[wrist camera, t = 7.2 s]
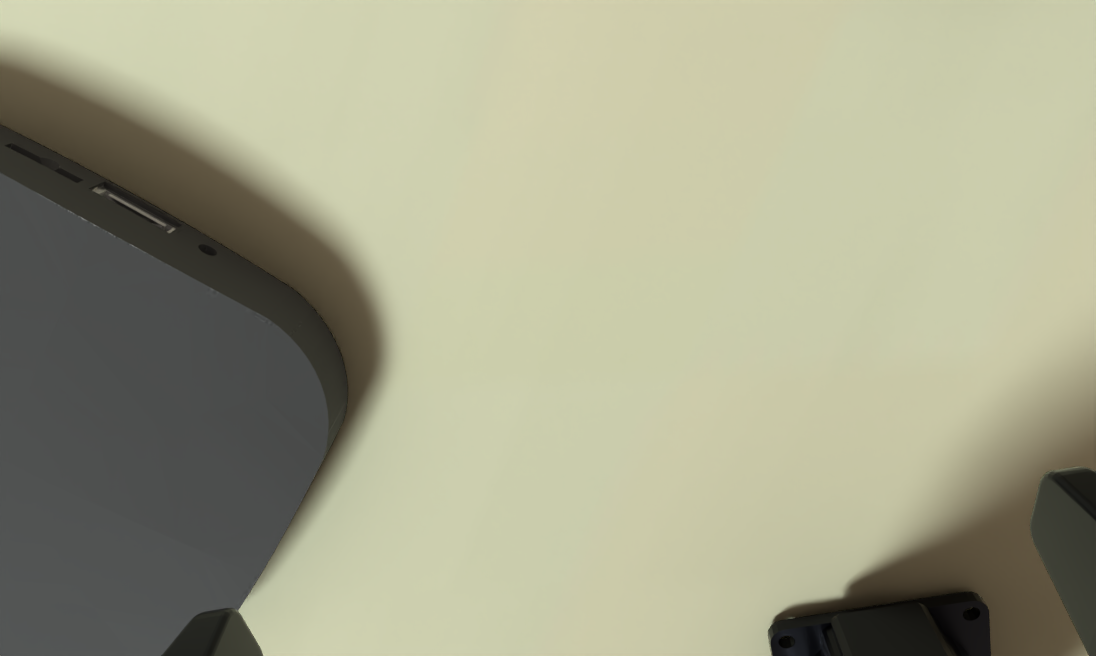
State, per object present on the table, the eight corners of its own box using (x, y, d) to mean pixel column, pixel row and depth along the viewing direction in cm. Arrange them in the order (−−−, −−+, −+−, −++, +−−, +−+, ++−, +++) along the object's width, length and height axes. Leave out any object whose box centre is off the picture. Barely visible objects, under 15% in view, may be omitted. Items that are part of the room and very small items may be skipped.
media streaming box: (202, 665, 28) (161, 739, 25) (-234, 464, 26) (-332, 524, 23) (400, 335, 23) (374, 385, 20) (-123, 42, 20) (-234, 53, 18)
